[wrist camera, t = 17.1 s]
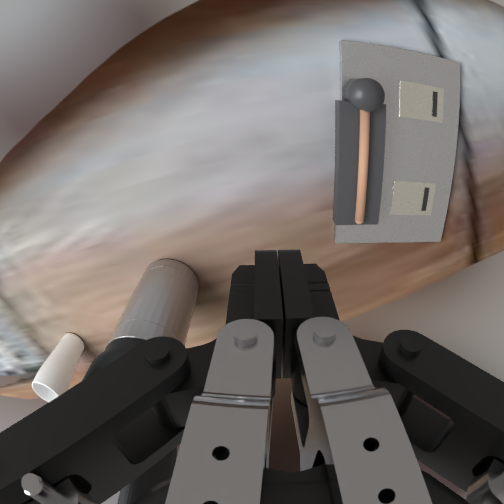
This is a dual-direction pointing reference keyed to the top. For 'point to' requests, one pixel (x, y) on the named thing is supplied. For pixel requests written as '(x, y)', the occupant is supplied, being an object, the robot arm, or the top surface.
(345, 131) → the cable arm
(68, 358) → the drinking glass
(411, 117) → the panel
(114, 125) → the top surface
